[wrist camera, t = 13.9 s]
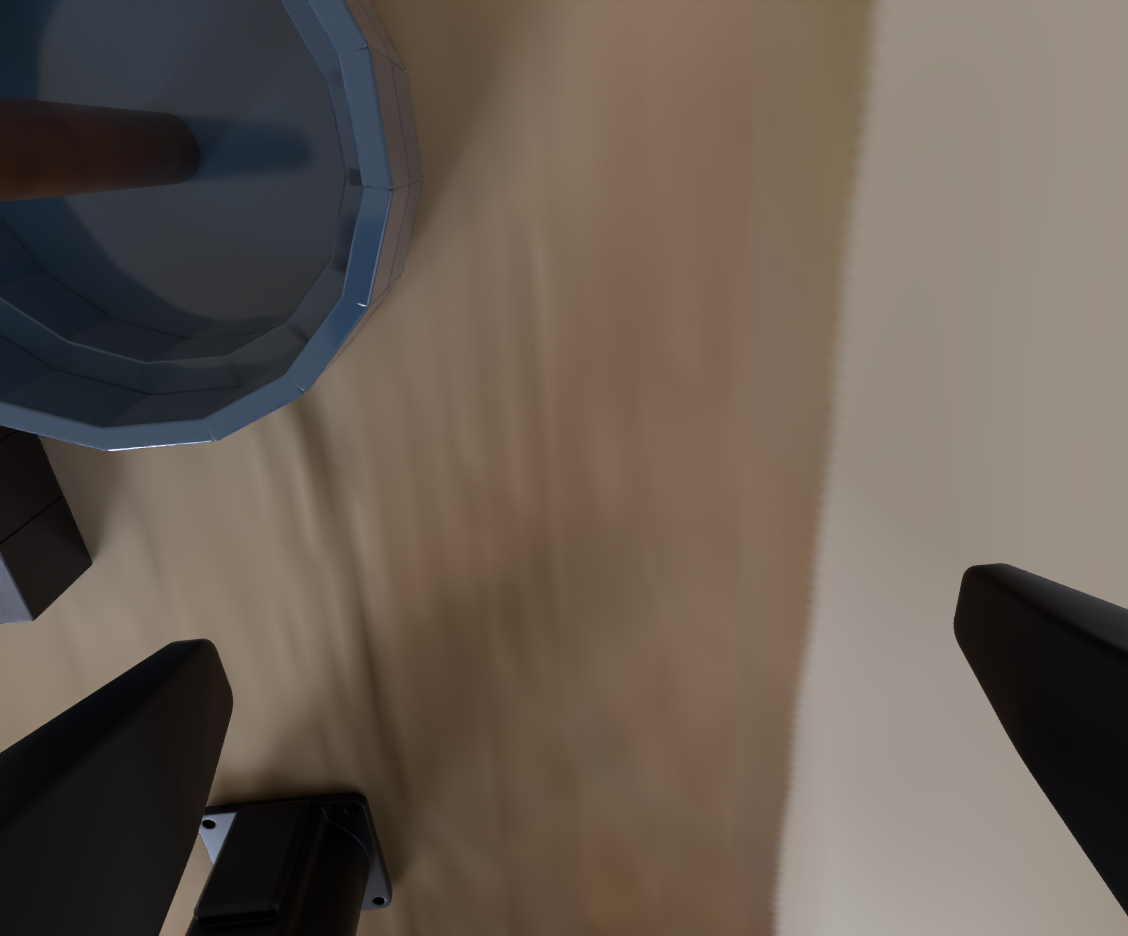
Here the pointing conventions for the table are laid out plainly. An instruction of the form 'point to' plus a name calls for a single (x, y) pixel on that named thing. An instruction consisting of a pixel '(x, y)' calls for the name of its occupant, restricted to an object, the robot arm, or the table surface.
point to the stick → (88, 149)
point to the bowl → (203, 215)
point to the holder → (33, 531)
